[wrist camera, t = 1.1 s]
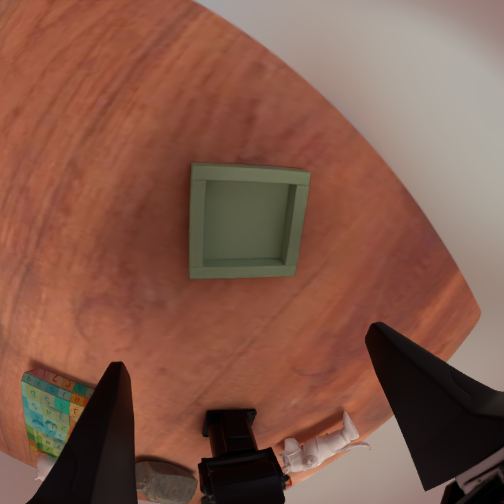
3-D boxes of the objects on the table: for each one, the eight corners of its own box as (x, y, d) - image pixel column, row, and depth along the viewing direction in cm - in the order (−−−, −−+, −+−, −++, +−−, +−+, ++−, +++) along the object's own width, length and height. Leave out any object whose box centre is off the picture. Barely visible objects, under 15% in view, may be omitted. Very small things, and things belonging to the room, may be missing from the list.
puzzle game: (120, 425, 24) (98, 477, 29) (123, 392, 28) (100, 453, 33) (18, 386, 19) (29, 453, 24) (31, 356, 23) (34, 430, 28)
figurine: (51, 499, 27) (45, 496, 20) (29, 468, 29) (18, 455, 23) (88, 479, 36) (93, 471, 29) (66, 451, 38) (66, 434, 32)
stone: (201, 471, 40) (208, 507, 33) (169, 480, 40) (174, 514, 33) (152, 451, 34) (155, 493, 27) (120, 461, 34) (120, 499, 28)
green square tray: (286, 265, 25) (295, 276, 24) (188, 267, 23) (189, 279, 22) (300, 168, 22) (311, 172, 20) (191, 162, 20) (192, 165, 18)
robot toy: (347, 411, 32) (253, 456, 33) (376, 460, 28) (280, 502, 28) (347, 403, 45) (278, 439, 46) (368, 440, 40) (298, 474, 41)
